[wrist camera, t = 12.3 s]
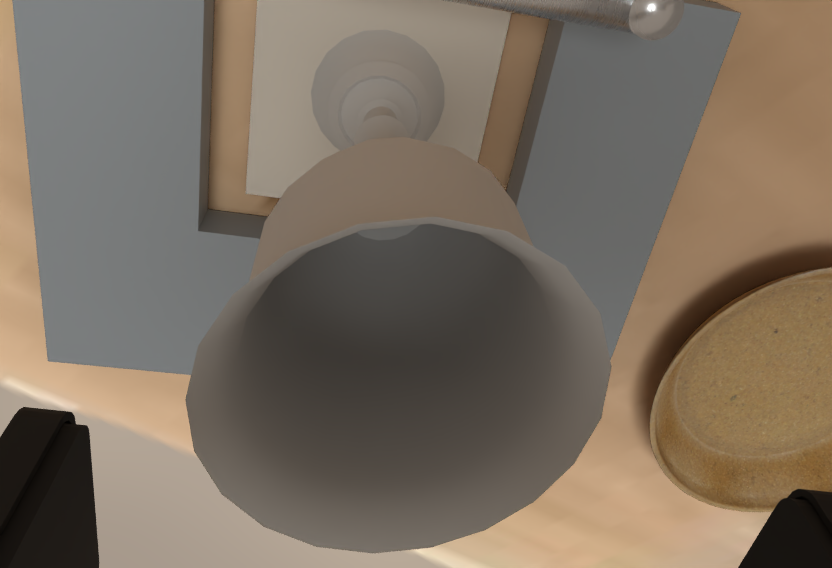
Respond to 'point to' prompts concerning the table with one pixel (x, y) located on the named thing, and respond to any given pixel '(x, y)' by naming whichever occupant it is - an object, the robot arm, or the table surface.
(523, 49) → the table surface
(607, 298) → the grey rectangular frame
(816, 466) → the plant saucer
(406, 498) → the chalice
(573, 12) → the metal bar handle
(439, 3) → the felt pad
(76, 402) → the table surface
